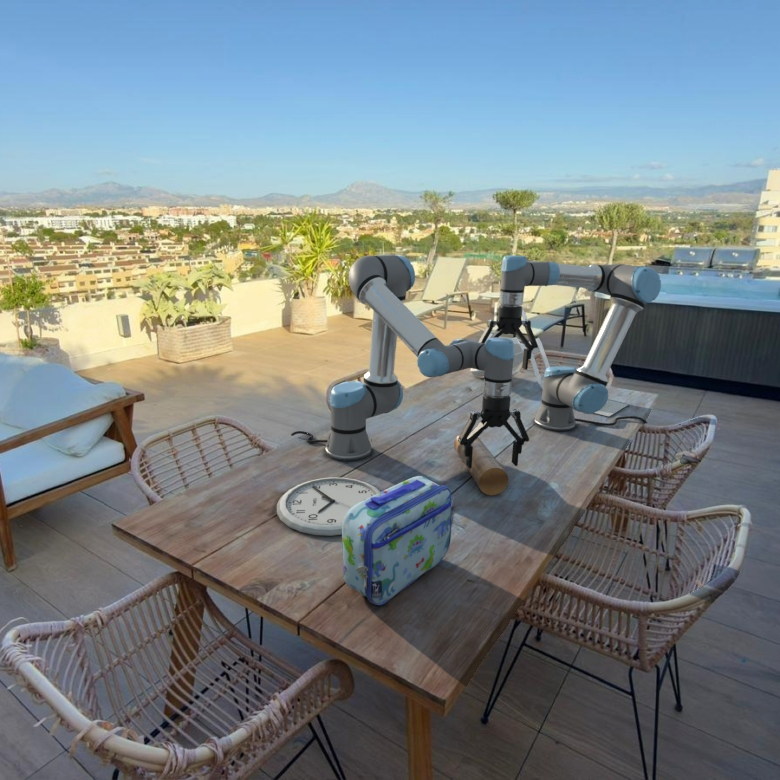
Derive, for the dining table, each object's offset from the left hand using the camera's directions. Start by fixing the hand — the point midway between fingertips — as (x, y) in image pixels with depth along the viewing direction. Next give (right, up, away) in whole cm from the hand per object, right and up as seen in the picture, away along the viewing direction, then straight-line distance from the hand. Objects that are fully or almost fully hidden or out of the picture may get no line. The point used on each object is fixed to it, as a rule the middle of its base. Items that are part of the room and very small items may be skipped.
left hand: (491, 465), depth 150 cm
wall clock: (-45, -10, -7) cm, 47 cm away
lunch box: (-27, -19, -36) cm, 49 cm away
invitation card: (+62, +14, +76) cm, 99 cm away
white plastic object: (+29, +25, +108) cm, 114 cm away
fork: (-15, -12, -12) cm, 22 cm away
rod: (-2, -5, +12) cm, 13 cm away
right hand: (+9, +29, +24) cm, 39 cm away
